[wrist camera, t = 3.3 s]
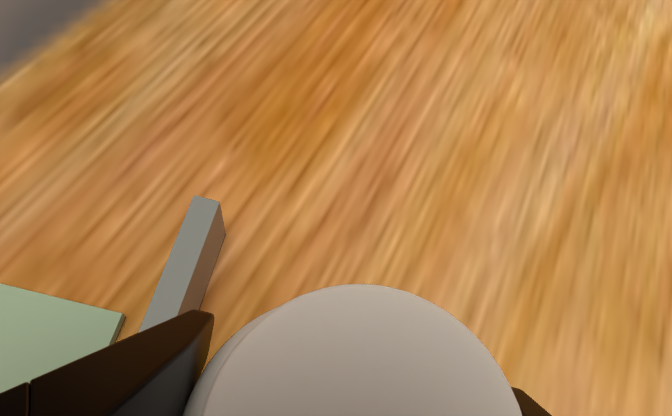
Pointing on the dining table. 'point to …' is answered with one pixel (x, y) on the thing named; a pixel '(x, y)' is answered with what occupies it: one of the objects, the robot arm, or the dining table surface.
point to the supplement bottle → (353, 361)
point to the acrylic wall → (188, 263)
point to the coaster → (48, 333)
